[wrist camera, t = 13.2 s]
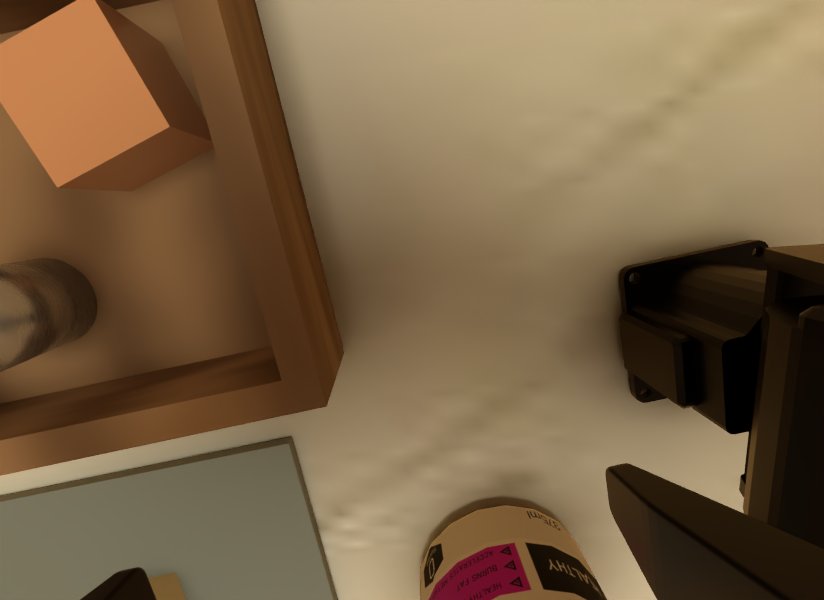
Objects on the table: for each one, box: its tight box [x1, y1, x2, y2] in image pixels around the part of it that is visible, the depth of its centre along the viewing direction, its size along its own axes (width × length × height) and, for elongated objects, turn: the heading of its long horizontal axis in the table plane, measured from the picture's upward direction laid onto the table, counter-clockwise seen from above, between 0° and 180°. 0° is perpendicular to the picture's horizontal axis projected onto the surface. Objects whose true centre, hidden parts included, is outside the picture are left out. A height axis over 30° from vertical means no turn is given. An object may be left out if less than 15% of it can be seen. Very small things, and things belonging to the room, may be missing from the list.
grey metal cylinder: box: [0, 258, 98, 372], centre depth 16 cm, size 4×4×4 cm
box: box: [0, 0, 344, 475], centre depth 16 cm, size 16×16×6 cm
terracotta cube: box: [0, 0, 214, 191], centre depth 15 cm, size 4×4×4 cm
